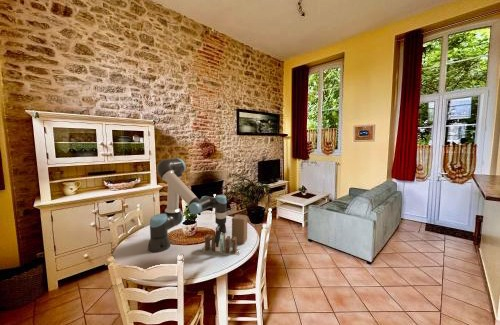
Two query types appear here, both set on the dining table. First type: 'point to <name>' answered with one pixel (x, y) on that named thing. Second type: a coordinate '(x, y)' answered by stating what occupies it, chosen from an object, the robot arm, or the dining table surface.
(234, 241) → the domino
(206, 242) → the domino
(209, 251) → the runner
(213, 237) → the domino
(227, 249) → the domino
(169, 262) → the dining table surface
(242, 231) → the block
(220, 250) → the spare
